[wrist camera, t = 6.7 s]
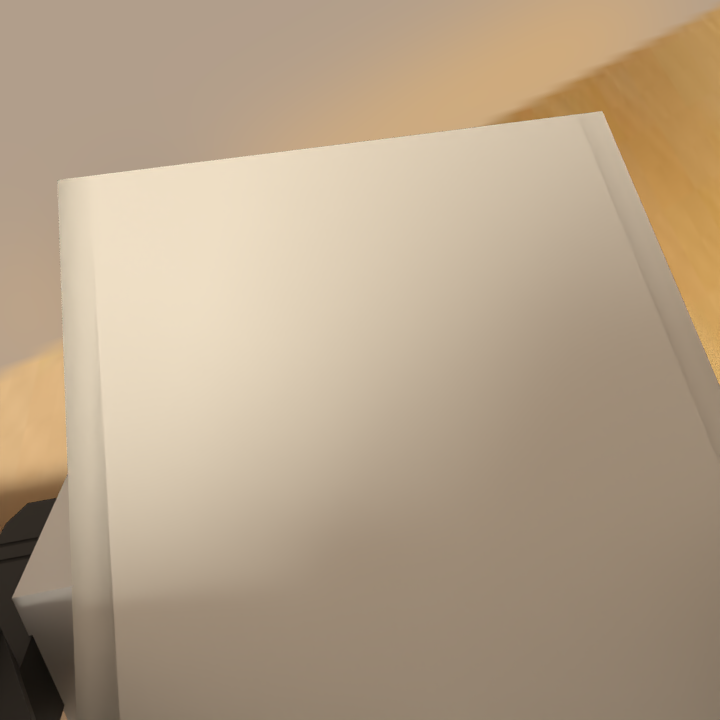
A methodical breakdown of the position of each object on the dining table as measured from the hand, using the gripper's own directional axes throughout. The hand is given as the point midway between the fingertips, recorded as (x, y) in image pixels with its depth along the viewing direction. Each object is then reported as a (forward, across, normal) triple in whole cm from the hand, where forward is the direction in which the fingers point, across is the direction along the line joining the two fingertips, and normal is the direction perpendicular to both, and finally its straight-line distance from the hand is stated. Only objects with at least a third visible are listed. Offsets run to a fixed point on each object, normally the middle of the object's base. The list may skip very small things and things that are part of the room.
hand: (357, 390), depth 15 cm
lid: (-3, 0, -2) cm, 3 cm away
